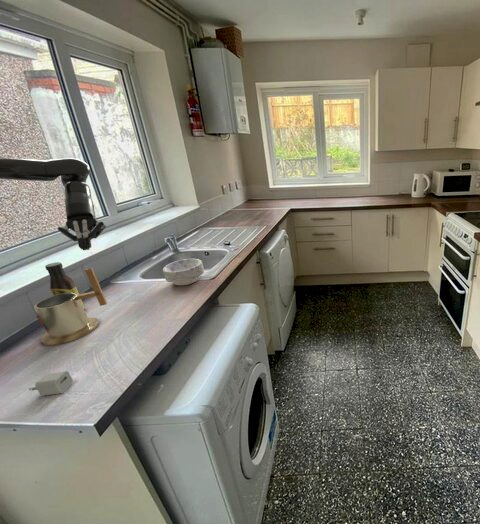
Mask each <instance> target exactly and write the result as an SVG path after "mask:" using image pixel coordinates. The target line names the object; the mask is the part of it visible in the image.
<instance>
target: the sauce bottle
mask: <svg viewBox="0 0 480 524" xmlns="http://www.w3.org/2000/svg"><path fill="white" fill-rule="evenodd" d="M45 270H46V271H47V273H48V274H49V275H48V276H49V277H50V281H49V282H50V283H49V289H50V291H51V294H52V296H56V295H60V294H65V293H76V294H77V295H79V294H80V293H79V290H78V289H77V285H76V284H75V282H74V280H73V279H72V277H70V276H68V275H67V273H66V272H65V269H64V267H63V264H62V262H59V261H57V262H55V261H54V262H51V263H47V264H46V265H45ZM80 302H81V304H82V306H83V308H84V310H85V311H86V308H85V305H84V303H83V299H80Z"/></svg>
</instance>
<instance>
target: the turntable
mask: <svg viewBox="0 0 480 524" xmlns="http://www.w3.org/2000/svg"><path fill="white" fill-rule="evenodd" d="M88 319H89V321H90V325H89V326H88V327H87V328H86V329H85V330H83V331H81V332H79V333H77V334H75V335H72V336H69V337H65V338H60V339H52V338H50V336H49V335H48V333H47V332H45V334H43V335H42V336H41V339H40V341H41V343H42V344H43V345H45V346H57V345H62V344H66V343H70V342H72V341H73V342H74V341H76V340H78V339H80V338H83V337H85V336H86V335H88V334H89V333H91V332H93V331H94V330H95V329H97V327H99V325H100V323H99V320H98V318H96V317H88Z"/></svg>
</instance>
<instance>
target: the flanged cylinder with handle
mask: <svg viewBox="0 0 480 524" xmlns="http://www.w3.org/2000/svg"><path fill="white" fill-rule="evenodd" d="M84 272H85V274H86V276H87V278H88V281H89V284H90V286H91V288H92V291H89V292H84V293H79V295H77V294H76V293H65V294H60V295H56V296H53V295H52V296H50V297H47V298H44V299H41V300H39V301H38V302H37V303H35V304H34V305H33V309H34V310H35V312H36V318H37V319H38V322H39V323H40V326H41V327H44V329H45V331H46V333H48V335H49V336H50V338H52V339H60V338H65V337H69V336H72V335H75V334H77V333H79V332H81V331H83V330H85V329H86V328H87V327H88V326H89V325H90V321H89V319H88V318H89V316H88V315H87V313H86V309H85V310H84V308H85V307H84V308H83V306H82V304H81V302H80V299H81V300H85V299H89V298H93V297H96V299H97V302H98V304H99V306H100V307H102V306H106V305H107V303H108V301H107V299H106V297H105V295H104V292H103V290H102V287H101V285H100V282H99V280H98V277H97V275H96V273H95V271H94V269H93V267H88V268H85V269H84Z"/></svg>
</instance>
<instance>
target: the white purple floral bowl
mask: <svg viewBox="0 0 480 524" xmlns="http://www.w3.org/2000/svg"><path fill="white" fill-rule="evenodd" d="M204 273H205V267H204V264H203V261H202V260H201V259H199V258H184V259H180V260H175V261H172V262H170V263H168V264H166V265H165V266H164V267H163V268H162V274H163V276H164V279H165V281H166V282H168V283H172V284H174V285H175V286H188V285H192V284H193V283H196V282H198V281H199V279H200V278H201V276H202V275H203V274H204Z"/></svg>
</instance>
